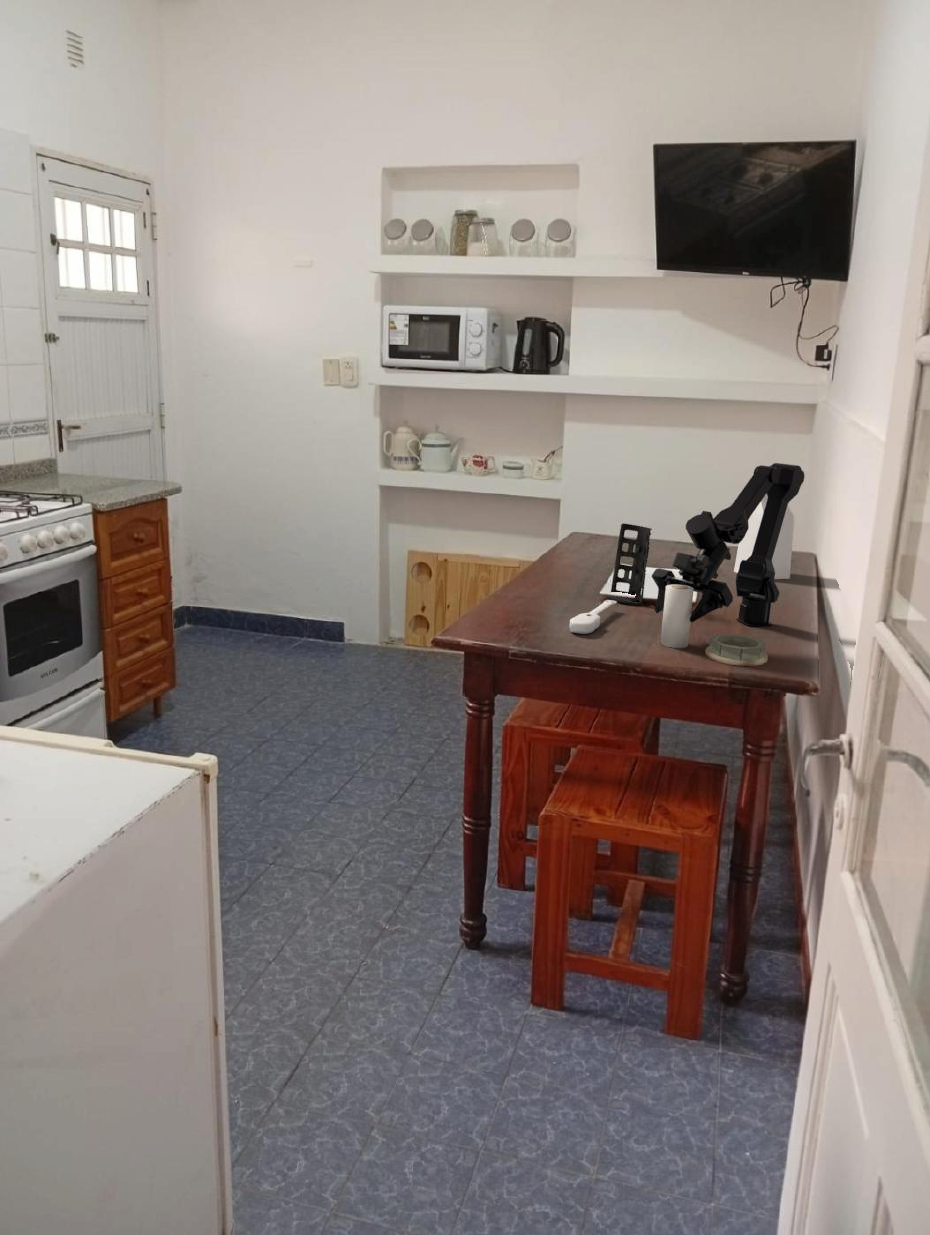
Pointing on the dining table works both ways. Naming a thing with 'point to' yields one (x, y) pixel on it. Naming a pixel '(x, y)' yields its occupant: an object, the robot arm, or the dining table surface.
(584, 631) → the white long handled piece
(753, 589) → the robot arm
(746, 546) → the milk
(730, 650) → the stand
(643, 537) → the holder
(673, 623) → the paper roll
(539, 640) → the dining table surface
